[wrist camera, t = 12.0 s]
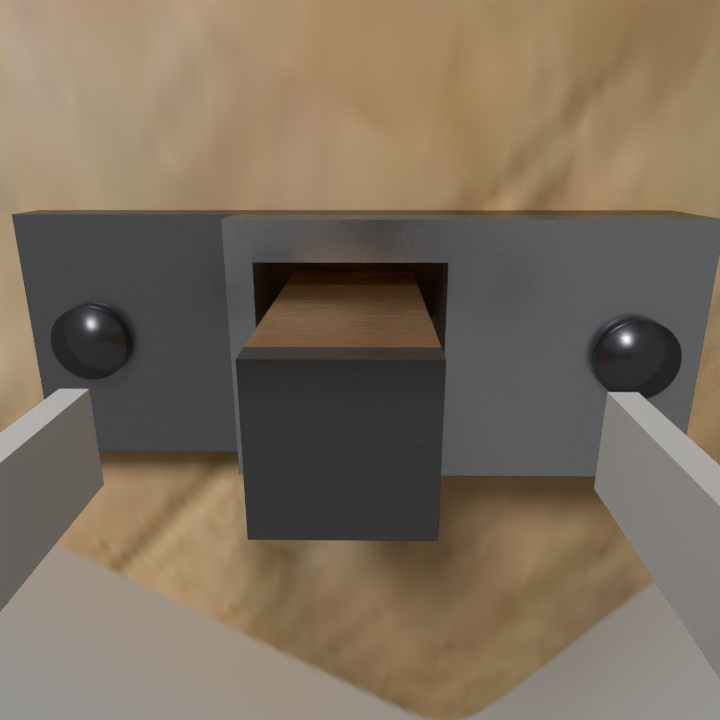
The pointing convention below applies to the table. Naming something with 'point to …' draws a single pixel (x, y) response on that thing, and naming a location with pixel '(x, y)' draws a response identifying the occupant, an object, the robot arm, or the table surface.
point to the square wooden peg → (343, 411)
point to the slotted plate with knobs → (377, 245)
